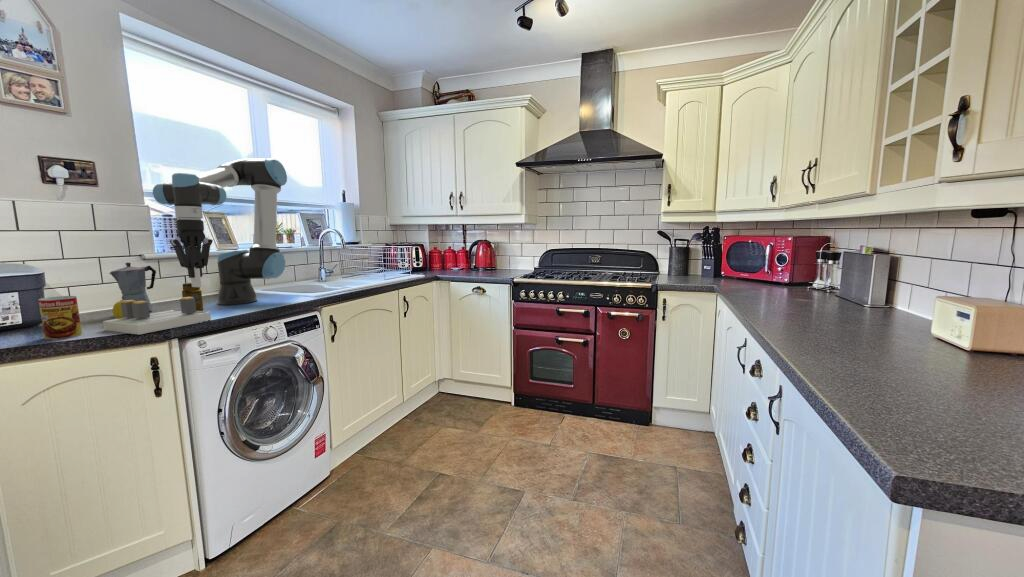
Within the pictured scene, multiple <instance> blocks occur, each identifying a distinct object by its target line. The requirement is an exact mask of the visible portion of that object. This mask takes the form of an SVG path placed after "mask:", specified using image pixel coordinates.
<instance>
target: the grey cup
mask: <svg viewBox="0 0 1024 577" xmlns="http://www.w3.org/2000/svg"><path fill="white" fill-rule="evenodd" d="M132 309H133V316H134V319H143V318H149V317H150V314H151V311H149V305H148V302H146V301H136V302H133V303H132Z"/></svg>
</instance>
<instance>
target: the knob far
mask: <svg viewBox="0 0 1024 577" xmlns="http://www.w3.org/2000/svg"><path fill="white" fill-rule="evenodd" d="M133 302H136V301H135V300H125V301H122V302H121V308H122V315H123V317H125V318H130V317H134V316H133V309H132V303H133Z"/></svg>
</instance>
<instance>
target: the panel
mask: <svg viewBox="0 0 1024 577" xmlns="http://www.w3.org/2000/svg"><path fill="white" fill-rule="evenodd" d="M204 311H205V310H203V311H196V313H190V314H182V312H181V308H176V309H171V310H164V311H158V312H152V313H151V312H150V317H149V318H143V319H134V317H130V318H120V319H117V318H114V319H108V320H103V328H104V329H103V330H104V331H108V332H117V333H125V334H131V335H137V336H139V335H143V334H148V333H155V332H158V331H159V332H160V331H163V330H168V329H169V330H170V329H173V328H180V327H185V326H189V325H194V324H198V323H199V322H200V323H204V322H203V321H205V322H209V321H208V320H210V321H212V314H211V311H205V312H204ZM200 323H199V324H200Z"/></svg>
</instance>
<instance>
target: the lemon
mask: <svg viewBox="0 0 1024 577" xmlns="http://www.w3.org/2000/svg"><path fill="white" fill-rule="evenodd" d="M122 301H124V300H122V299H120V300H118V301H117V302H116V303H115V304H113V306H112V314H113V316H114V319H120V318H125V317H123V315H122V308H121V302H122Z"/></svg>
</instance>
